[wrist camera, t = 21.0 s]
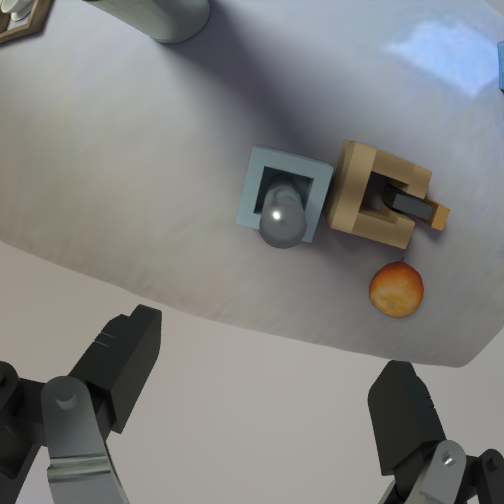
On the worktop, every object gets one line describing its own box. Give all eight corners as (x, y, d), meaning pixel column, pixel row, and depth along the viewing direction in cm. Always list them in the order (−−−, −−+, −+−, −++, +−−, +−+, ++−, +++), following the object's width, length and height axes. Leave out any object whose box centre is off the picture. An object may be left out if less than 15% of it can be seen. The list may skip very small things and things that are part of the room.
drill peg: (272, 170, 35) (265, 198, 21) (300, 178, 35) (312, 210, 21) (265, 198, 37) (254, 242, 23) (292, 205, 37) (299, 253, 23)
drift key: (387, 182, 35) (400, 189, 30) (434, 200, 35) (450, 209, 30) (380, 203, 36) (392, 213, 32) (427, 220, 36) (442, 231, 32)
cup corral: (20, -16, 22) (10, -19, 19) (67, -36, 22) (56, -41, 19) (-1, 44, 28) (-13, 43, 25) (41, 30, 28) (28, 27, 25)
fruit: (432, 282, 38) (427, 322, 33) (388, 291, 44) (377, 329, 39) (415, 240, 36) (409, 279, 31) (368, 253, 42) (355, 290, 37)
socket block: (344, 140, 33) (356, 141, 28) (412, 164, 33) (432, 171, 28) (323, 213, 38) (330, 227, 32) (389, 232, 38) (405, 249, 32)
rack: (256, 144, 35) (252, 146, 30) (326, 162, 35) (333, 167, 30) (241, 211, 39) (234, 224, 33) (307, 228, 39) (311, 243, 33)
